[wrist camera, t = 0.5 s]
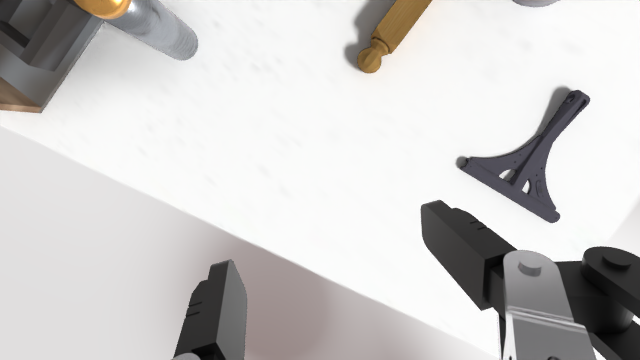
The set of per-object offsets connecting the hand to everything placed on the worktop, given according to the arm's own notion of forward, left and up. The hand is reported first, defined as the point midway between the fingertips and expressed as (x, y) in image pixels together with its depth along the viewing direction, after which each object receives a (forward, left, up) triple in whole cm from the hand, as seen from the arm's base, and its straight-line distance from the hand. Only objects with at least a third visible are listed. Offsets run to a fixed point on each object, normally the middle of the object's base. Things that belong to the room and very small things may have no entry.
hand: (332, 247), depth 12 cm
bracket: (-1, +28, -25) cm, 38 cm away
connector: (-17, -15, -24) cm, 33 cm away
